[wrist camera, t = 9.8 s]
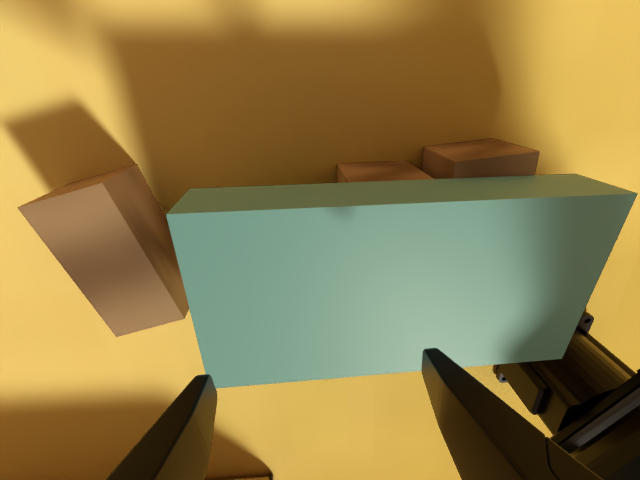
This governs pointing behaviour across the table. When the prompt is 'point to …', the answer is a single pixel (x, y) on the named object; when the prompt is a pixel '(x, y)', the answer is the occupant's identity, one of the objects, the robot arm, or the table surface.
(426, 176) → the block
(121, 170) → the block
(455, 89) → the table surface
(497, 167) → the block
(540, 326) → the slab
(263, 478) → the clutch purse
